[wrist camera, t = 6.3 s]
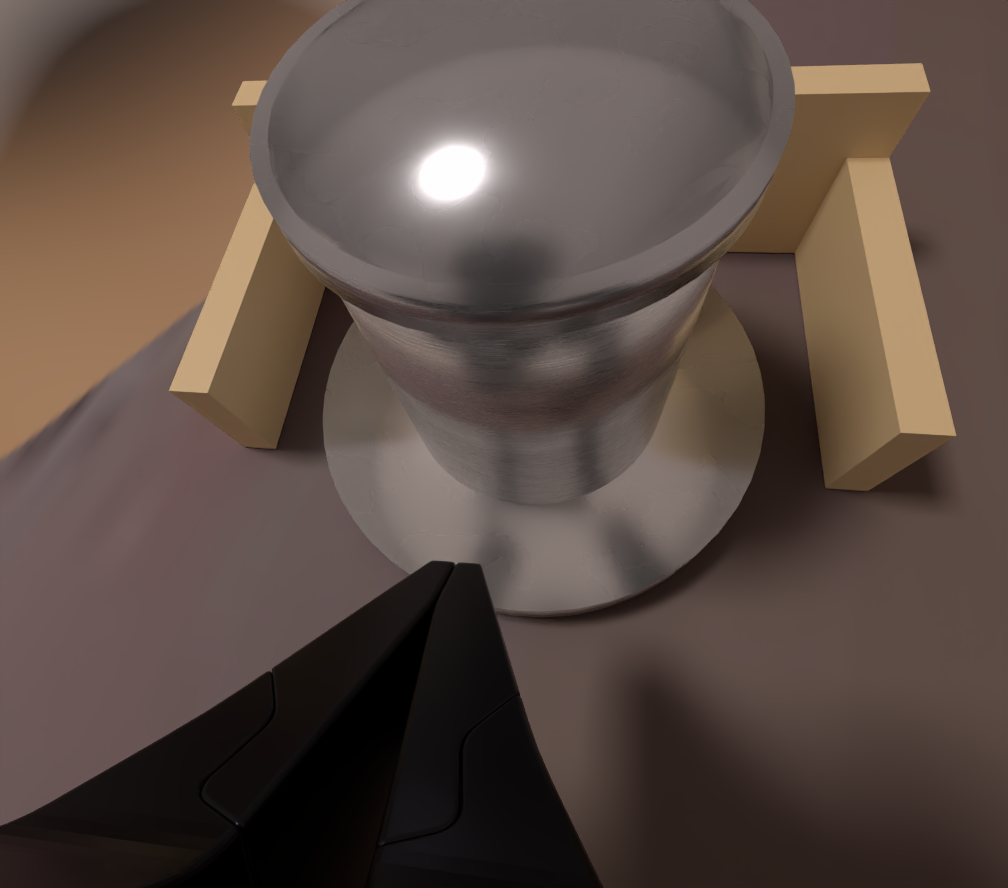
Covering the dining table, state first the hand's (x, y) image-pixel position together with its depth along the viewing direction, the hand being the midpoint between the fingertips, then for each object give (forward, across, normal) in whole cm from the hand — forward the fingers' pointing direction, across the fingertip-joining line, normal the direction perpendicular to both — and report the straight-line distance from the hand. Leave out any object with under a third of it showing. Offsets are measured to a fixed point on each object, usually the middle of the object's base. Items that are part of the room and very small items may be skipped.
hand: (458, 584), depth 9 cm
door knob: (+10, -1, 0) cm, 11 cm away
